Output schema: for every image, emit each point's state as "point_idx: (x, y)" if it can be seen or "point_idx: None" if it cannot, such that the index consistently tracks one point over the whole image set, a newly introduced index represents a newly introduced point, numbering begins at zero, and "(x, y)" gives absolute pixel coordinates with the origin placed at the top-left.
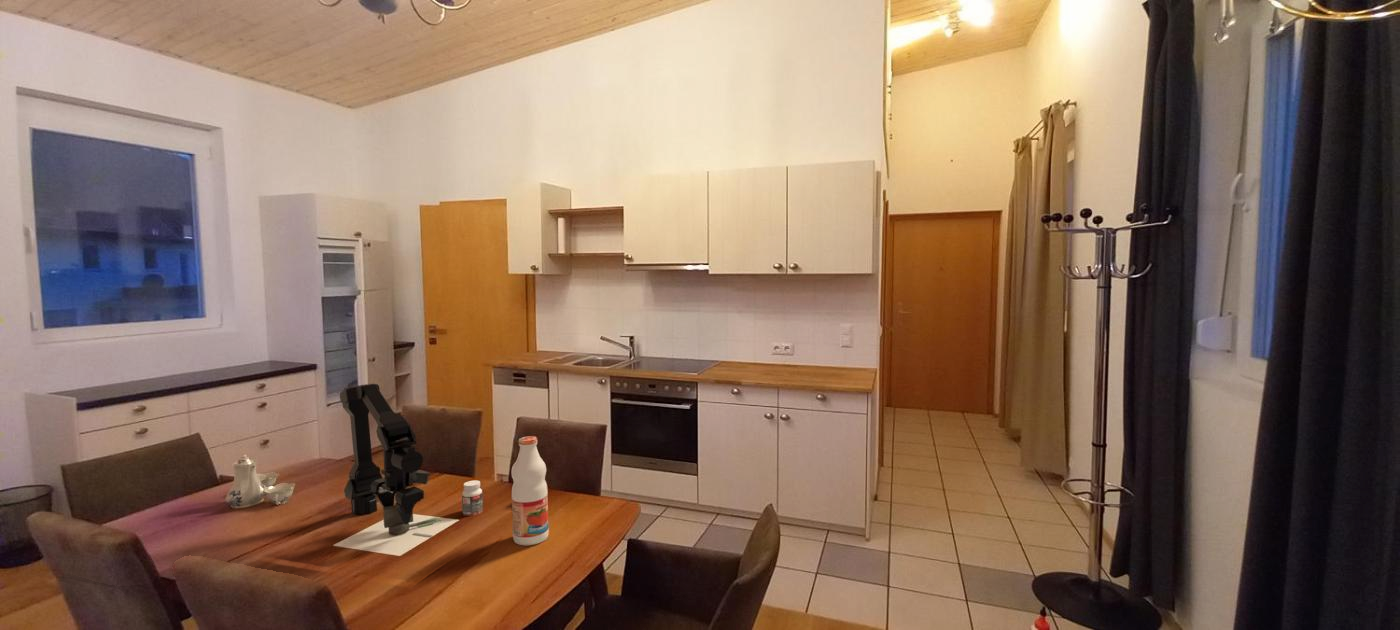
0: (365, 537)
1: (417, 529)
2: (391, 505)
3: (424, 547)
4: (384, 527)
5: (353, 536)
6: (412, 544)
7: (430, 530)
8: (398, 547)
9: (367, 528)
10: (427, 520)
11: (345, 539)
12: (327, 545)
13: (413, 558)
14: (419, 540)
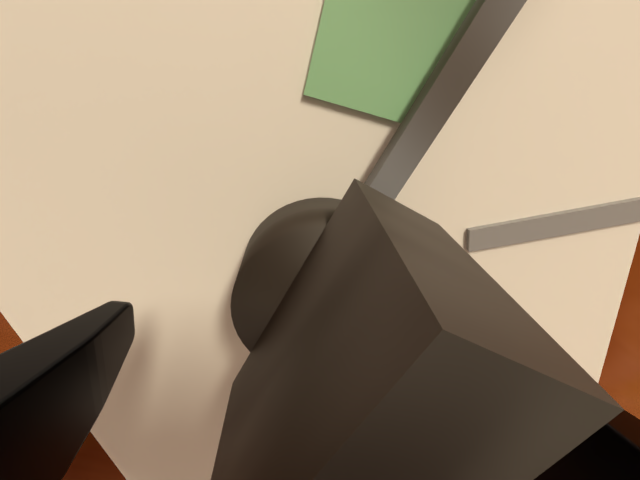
0: (187, 398)
1: (428, 166)
2: (24, 427)
3: (626, 281)
4: (120, 266)
5: (102, 419)
6: (573, 331)
7: (568, 128)
8: None
9: (25, 329)
10: (472, 33)
11: (112, 451)
12: (72, 469)
13: (634, 372)
14: (587, 283)
